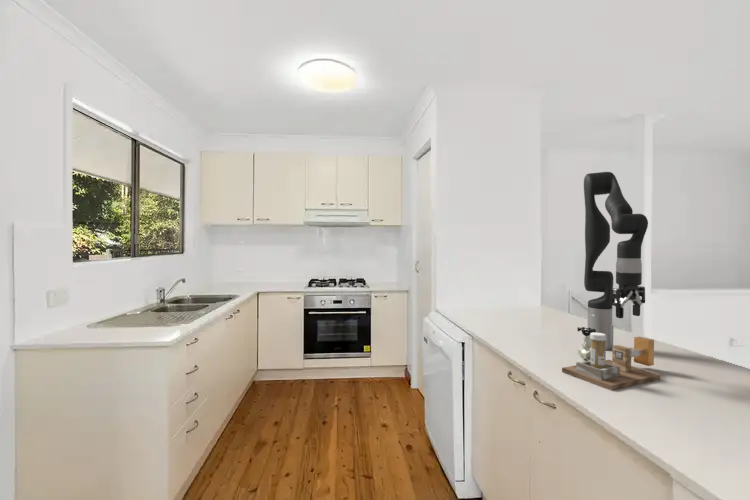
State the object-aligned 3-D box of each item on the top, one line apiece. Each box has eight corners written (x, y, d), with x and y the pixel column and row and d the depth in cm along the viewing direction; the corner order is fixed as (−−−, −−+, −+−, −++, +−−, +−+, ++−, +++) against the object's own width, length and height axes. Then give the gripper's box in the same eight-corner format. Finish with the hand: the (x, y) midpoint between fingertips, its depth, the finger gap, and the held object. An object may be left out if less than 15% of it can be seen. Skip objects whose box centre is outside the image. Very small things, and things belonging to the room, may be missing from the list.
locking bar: (639, 361, 139) (639, 336, 139) (653, 365, 135) (654, 339, 134) (611, 366, 133) (611, 340, 133) (625, 370, 129) (626, 344, 129)
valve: (591, 357, 151) (591, 327, 150) (599, 362, 144) (599, 330, 144) (573, 356, 151) (574, 326, 151) (581, 361, 145) (581, 330, 145)
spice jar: (605, 376, 124) (606, 335, 124) (589, 374, 126) (590, 334, 126) (605, 372, 128) (605, 332, 128) (589, 370, 130) (590, 331, 130)
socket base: (608, 363, 142) (608, 339, 142) (660, 379, 126) (660, 351, 126) (561, 372, 133) (562, 345, 133) (611, 390, 117) (611, 360, 116)
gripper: (631, 269, 139) (631, 313, 140) (604, 271, 134) (603, 316, 134) (653, 270, 132) (652, 317, 133) (625, 272, 127) (624, 321, 127)
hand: (628, 316), depth 133 cm, fingers open, 8 cm apart
